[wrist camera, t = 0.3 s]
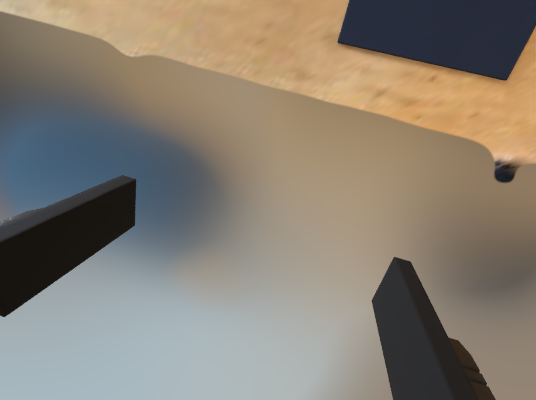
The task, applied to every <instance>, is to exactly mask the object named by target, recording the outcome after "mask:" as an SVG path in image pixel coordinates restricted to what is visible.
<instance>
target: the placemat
mask: <svg viewBox="0 0 536 400" xmlns="http://www.w3.org/2000/svg"><path fill="white" fill-rule="evenodd" d="M535 26H536V0H350V1H349V4H348V8H347V11H346V15H345V18H344V22H343V25H342V29H341V32H340V36H339V39H338V43H342V44H346V45H351V46H355V47H360V48H364V49H368V50H373V51H377V52H382V53H386V54H391V55H395V56H399V57H404V58H408V59H413V60H417V61H421V62H426V63H430V64H435V65H439V66H443V67H448V68H452V69H457V70H461V71H465V72H470V73H474V74H479V75H483V76H488V77H492V78H496V79H501V80H507V79H508V77H509V75H510V73H511V71H512V69H513V67H514V66H515V64H516V62H517V60H518V58H519V56H520V54H521V52H522V51H523V49H524V47H525V45H526V43H527V41H528V39H529V37H530V35H531V34H532V32H533V30H534V28H535Z"/></svg>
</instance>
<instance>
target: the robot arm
mask: <svg viewBox="0 0 536 400" xmlns="http://www.w3.org/2000/svg"><path fill="white" fill-rule="evenodd" d="M135 198H136V179H133V178H130V177H127V176H123V175H122V176H119V177H117V178H114V179H112V180H110V181H107V182H105V183H103V184H100V185H98V186H95V187H93V188H91V189H88V190H86V191H83V192H81V193H78V194H76V195H74V196H71V197H69V198H66V199H64V200H61V201H59V202H57V203H54V204H52V205H49V206H47V207H45V208H41V209H36V210H32V211H27V212H24V213H22V214H19V215H17V216H14V217H12V218H11V219H7V220H4V221H2V222H0V316H2V317H5V316H7V315H8V314H10V313H11V312H13V311H14V310H15V309H17V308H18V307H20V306H21V305H23V304H24V303H25V302H27V301H28V300H30V299H31V298H33V297H34V296H35V295H37V294H38V293H40V292H41V291H42V290H44V289H45V288H47V287H48V286H50V285H51V284H52V283H54V282H55V281H57V280H58V279H59V278H61V277H62V276H63V275H65V274H67V273H68V272H69V271H71V270H72V269H74V268H75V267H77V266H78V265H79V264H81V263H82V262H84V261H85V260H86V259H88V258H89V257H91V256H92V255H94V254H95V253H96V252H98V251H99V250H101V249H102V248H103V247H105V246H106V245H108V244H109V243H110V242H112V241H113V240H115V239H116V238H118V237H119V236H120V235H122V234H123V233H125V232H126V231H128V230H129V229H130V228H132V227H133V226H134V225H135V200H136V199H135ZM372 304H373V309H374V313H375V318H376V322H377V327H378V332H379V336H380V341H381V345H382V350H383V355H384V359H385V364H386V368H387V373H388V377H389V382H390V387H391V391H392V396H393V400H495V398H494V396H493V394H492V392H491V390H490V389H489V387H487V386H486V384H487V383H486V381H485V379H484V378H483V376H482V374H480V373H479V371H480V370H479V368H478V367H477V365H476V363H475V361H474V360H473V358H472V356H471V355H470V353H469V352H468V351H467V350H466V349H465V348H464V347H463V345H461V343H460V342H459V341H458V340H455V339H451V338H448V336H447V334H446V332H445V330H444V328H443V326H442V324H441V322H440V320H439V318H438V316H437V314H436V312H435V310H434V308H433V306H432V304H431V302H430V300H429V298H428V296H427V294H426V292H425V290H424V288H423V286H422V284H421V282H420V280H419V278H418V276H417V274H416V272H415V270H414V268H413V265H412V263H411V262H410V261H406V260H403V259H399V258H396V257H394V258H393V260H392V262H391V264H390V266H389V268H388V270H387V272H386V274H385V276H384V278H383V280H382V282H381V283H380V285H379V287H378V290H377V291H376V293H375V295H374V297H373V299H372Z"/></svg>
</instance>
